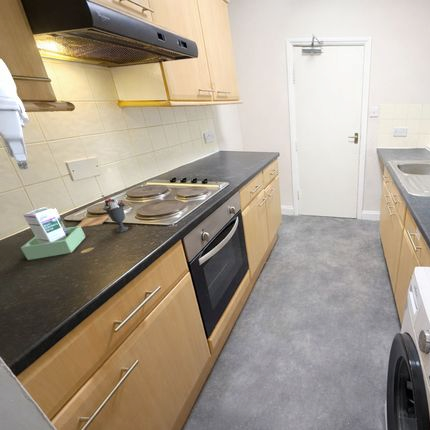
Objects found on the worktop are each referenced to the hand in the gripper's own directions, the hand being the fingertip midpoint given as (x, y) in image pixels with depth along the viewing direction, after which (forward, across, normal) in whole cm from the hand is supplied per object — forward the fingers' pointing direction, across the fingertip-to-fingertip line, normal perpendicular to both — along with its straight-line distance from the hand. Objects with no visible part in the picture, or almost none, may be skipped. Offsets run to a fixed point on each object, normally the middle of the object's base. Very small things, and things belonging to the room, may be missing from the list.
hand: (23, 165), depth 72 cm
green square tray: (+24, -22, +1) cm, 33 cm away
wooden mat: (+18, -38, +14) cm, 44 cm away
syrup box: (+25, -22, +1) cm, 33 cm away
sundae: (+24, -20, +19) cm, 37 cm away
